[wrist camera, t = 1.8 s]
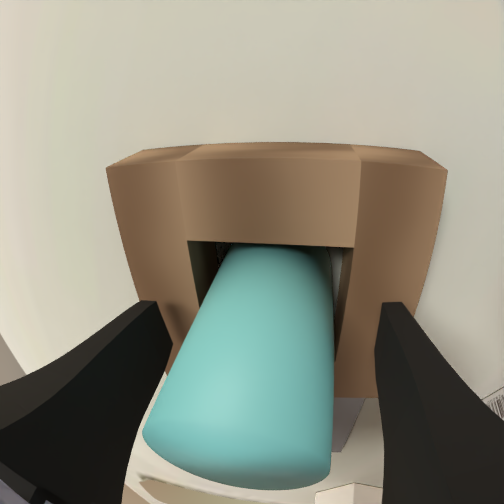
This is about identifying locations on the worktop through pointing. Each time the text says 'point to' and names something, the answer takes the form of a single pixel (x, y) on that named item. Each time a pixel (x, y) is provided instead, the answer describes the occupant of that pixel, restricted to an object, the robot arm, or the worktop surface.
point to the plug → (254, 374)
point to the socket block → (282, 228)
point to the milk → (350, 495)
